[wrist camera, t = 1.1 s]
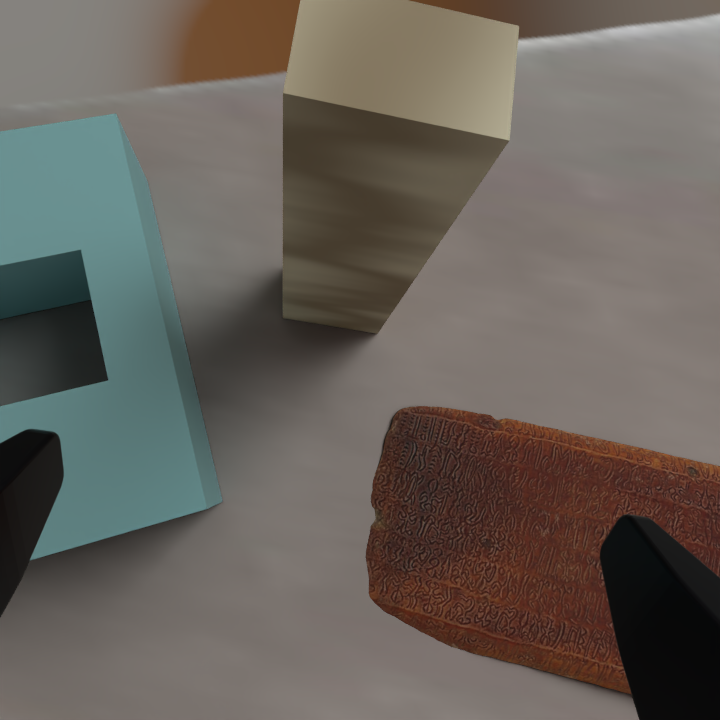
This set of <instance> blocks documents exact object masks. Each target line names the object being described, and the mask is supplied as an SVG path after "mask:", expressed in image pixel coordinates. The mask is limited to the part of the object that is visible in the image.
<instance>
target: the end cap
mask: <svg viewBox="0 0 720 720" xmlns="http://www.w3.org/2000/svg"><path fill="white" fill-rule="evenodd" d="M88 300H92V305H93V310H94V314H95V319H96V324H97V329H98V333H99V338H100V343H101V348H102V352H103V357H104V362H105V367H106V372H107V376H108V381H103V382H99V383H95V384H91V385H87V386H83V387H78V388H74V389H70V390H66V391H62V392H58V393H53V394H49V395H45V396H41V397H37V398H33V399H29V400H24V401H20V402H16V403H12V404H8V405H4V406H0V443H1V442H3V441H5V440H7V439H9V438H11V437H12V436H14V435H16V434H18V433H20V432H22V431H24V430H27V429H38V430H45V431H52V432H55V433H57V434H58V436H59V438H60V442H61V450H62V459H63V467H64V478H63V483H62V486H61V489H60V491H59V494H58V496H57V498H56V501H55V503H54V505H53V508H52V510H51V512H50V515H49V517H48V519H47V522H46V524H45V526H44V529H43V531H42V533H41V535H40V538H39V540H38V542H37V545H36V547H35V549H34V552H33V554H32V556H31V559H30V560H33V559H36V558H40V557H43V556H47V555H50V554H54V553H57V552H61V551H64V550H67V549H71V548H74V547H78V546H81V545H85V544H88V543H92V542H95V541H99V540H102V539H105V538H109V537H112V536H116V535H119V534H123V533H126V532H130V531H133V530H136V529H140V528H143V527H147V526H150V525H154V524H157V523H161V522H164V521H167V520H171V519H174V518H178V517H181V516H185V515H188V514H192V513H195V512H198V511H202V510H205V509H208V508H210V507H212V506H214V505H217V504H219V503H221V502H223V501H222V496H221V492H220V488H219V484H218V479H217V475H216V471H215V467H214V462H213V458H212V454H211V450H210V445H209V441H208V437H207V433H206V428H205V424H204V420H203V416H202V411H201V407H200V403H199V399H198V394H197V390H196V386H195V382H194V377H193V373H192V369H191V365H190V360H189V356H188V352H187V348H186V343H185V339H184V335H183V331H182V326H181V322H180V318H179V314H178V309H177V305H176V301H175V297H174V292H173V288H172V284H171V280H170V275H169V271H168V267H167V263H166V258H165V254H164V250H163V246H162V241H161V237H160V233H159V229H158V224H157V220H156V216H155V212H154V207H153V203H152V199H151V195H150V190H149V186H148V182H147V179H146V177H145V175H144V173H143V171H142V168H141V166H140V164H139V162H138V160H137V158H136V155H135V153H134V151H133V149H132V147H131V145H130V143H129V140H128V138H127V136H126V134H125V132H124V130H123V127H122V125H121V123H120V121H119V119H118V117H117V114H110V115H104V116H97V117H91V118H85V119H78V120H72V121H65V122H59V123H53V124H46V125H40V126H33V127H27V128H21V129H14V130H8V131H1V132H0V319H4V318H8V317H13V316H18V315H22V314H27V313H32V312H36V311H41V310H46V309H50V308H55V307H60V306H64V305H69V304H74V303H78V302H83V301H88Z"/></svg>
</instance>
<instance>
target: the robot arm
mask: <svg viewBox="0 0 720 720" xmlns="http://www.w3.org/2000/svg"><path fill="white" fill-rule="evenodd" d="M63 478H64V467H63V459H62V450H61V442H60V438H59V436H58V434H57V433H55V432H52V431H45V430H38V429H27V430H24V431H22V432H20V433H18V434H16V435H14V436H12V437H11V438H9V439H7V440H5V441H3V442H1V443H0V617H1V615H2V613H3V612H4V610H5V608H6V606H7V605H8V603H9V601H10V599H11V598H12V596H13V594H14V592H15V590H16V588H17V586H18V585H19V583H20V581H21V579H22V577H23V574H24V572H25V570H26V568H27V566H28V563H29V561H30V559H31V556H32V554H33V552H34V549H35V547H36V545H37V542H38V540H39V538H40V535H41V533H42V531H43V529H44V526H45V524H46V522H47V519H48V517H49V515H50V512H51V510H52V508H53V505H54V503H55V501H56V498H57V496H58V494H59V491H60V489H61V486H62V483H63ZM600 563H601V568H602V573H603V578H604V583H605V588H606V593H607V598H608V603H609V608H610V613H611V618H612V623H613V628H614V633H615V637H616V642H617V646H618V650H619V654H620V657H621V661H622V664H623V668H624V671H625V674H626V678H627V681H628V684H629V687H630V691H631V694H632V697H633V701H634V704H635V707H636V710H637V714H638V717H639V720H720V577H719V576H717V575H716V574H715V573H714V572H713V571H712V570H710V569H709V568H708V567H707V566H706V565H705V564H703V563H702V562H701V561H700V560H699V559H697V558H696V557H695V556H694V555H693V554H692V553H690V552H689V551H688V550H687V549H686V548H685V547H683V546H682V545H681V544H680V543H679V542H678V541H676V540H675V539H674V538H673V537H672V536H670V535H669V534H668V533H667V532H666V531H665V530H663V529H662V528H661V527H660V526H659V525H658V524H656V523H655V522H654V521H653V520H652V519H650V518H648V517H645V516H638V515H631V514H624V515H623V516H621V517H620V518H619V519H618V520H617V522H616V523H615V525H614V526H613V528H612V530H611V531H610V533H609V534H608V536H607V537H606V539H605V541H604V542H603V544H602V546H601V549H600Z"/></svg>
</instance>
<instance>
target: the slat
mask: <svg viewBox="0 0 720 720" xmlns="http://www.w3.org/2000/svg"><path fill="white" fill-rule="evenodd" d="M518 33H519V26H516V25H512V24H507V23H503V22H499V21H495V20H490V19H486V18H482V17H477V16H473V15H469V14H465V13H460V12H456V11H452V10H447V9H443V8H439V7H435V6H430V5H426V4H421V3H417V2H413V1H409V0H301V1H300V6H299V12H298V17H297V22H296V27H295V32H294V38H293V43H292V49H291V54H290V59H289V65H288V69H287V75H286V80H285V85H284V91H283V318H286V319H292V320H298V321H304V322H310V323H316V324H322V325H328V326H334V327H340V328H346V329H352V330H358V331H364V332H370V333H376V334H378V332H379V331H380V329H381V328H382V326H383V325H384V323H385V322H386V320H387V319H388V318H389V316H390V315H391V313H392V312H393V310H394V309H395V307H396V306H397V304H398V303H399V301H400V300H401V299H402V297H403V296H404V294H405V293H406V291H407V290H408V288H409V287H410V285H411V284H412V282H413V281H414V279H415V278H416V277H417V275H418V274H419V272H420V271H421V269H422V268H423V266H424V265H425V263H426V262H427V260H428V259H429V257H430V256H431V255H432V253H433V252H434V250H435V249H436V247H437V246H438V244H439V243H440V241H441V240H442V238H443V237H444V235H445V234H446V233H447V231H448V230H449V228H450V227H451V225H452V224H453V222H454V221H455V219H456V218H457V216H458V215H459V214H460V212H461V211H462V209H463V208H464V206H465V205H466V203H467V202H468V200H469V199H470V197H471V196H472V194H473V193H474V192H475V190H476V189H477V187H478V186H479V184H480V183H481V181H482V180H483V178H484V177H485V175H486V174H487V172H488V171H489V170H490V168H491V167H492V165H493V164H494V162H495V161H496V159H497V158H498V156H499V155H500V153H501V152H502V151H503V149H504V148H505V146H506V145H507V143H508V142H509V139H510V127H511V116H512V104H513V92H514V81H515V69H516V57H517V45H518Z"/></svg>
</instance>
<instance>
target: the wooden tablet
mask: <svg viewBox="0 0 720 720" xmlns="http://www.w3.org/2000/svg"><path fill="white" fill-rule="evenodd" d="M371 503H372V507H373V508H374V509H375V516H376V519H375V521H374V523H373V524H372V526H371V529H370V535H369V539H368V544H367V549H366V562H367V568H368V574H369V595H370V598H371V599H372V600H373V601H374V603H375V604H377V605H378V606H379V607H380V608H381V609H382V610H383V611H385V612H386V613H388V614H390V615H392V616H395V617H396V618H398V619H399V620H401V621H403V622H404V623H406V624H408V625H410V626H412V627H414V628H416V629H417V630H419V631H420V632H423V633H425V634H427V635H429V636H431V637H433V638H435V639H436V640H438V641H440V642H443V643H445V644H447V645H449V646H451V647H454V648H458V649H462V650H465V651H468V652H470V653H474V654H478V655H482V656H488V657H492V658H496V659H500V660H503V661H508V662H512V663H516V664H521V665H525V666H529V667H532V668H535V669H539V670H543V671H547V672H550V673H554V674H558V675H561V676H565V677H568V678H573V679H577V680H580V681H583V682H588V683H593V684H596V685H599V686H602V687H605V688H611V689H615V690H617V691H620V692H624V693H628V694H631V691H630V687H629V684H628V681H627V678H626V674H625V671H624V668H623V664H622V661H621V657H620V654H619V650H618V646H617V642H616V637H615V633H614V628H613V623H612V618H611V613H610V608H609V603H608V598H607V593H606V588H605V583H604V578H603V573H602V568H601V563H600V549H601V546H602V544H603V542H604V541H605V539H606V537H607V536H608V534H609V533H610V531H611V530H612V528H613V526H614V525H615V523H616V522H617V520H618V519H619V518H620V517H621V516H623V515H624V514H631V515H638V516H645V517H648V518H650V519H652V520H653V521H654V522H655V523H656V524H658V525H659V526H660V527H661V528H662V529H663V530H665V531H666V532H667V533H668V534H669V535H670V536H672V537H673V538H674V539H675V540H676V541H678V542H679V543H680V544H681V545H682V546H683V547H685V548H686V549H687V550H688V551H689V552H690V553H692V554H693V555H694V556H695V557H696V558H697V559H699V560H700V561H701V562H702V563H703V564H705V565H706V566H707V567H708V568H709V569H710V570H712V571H713V572H714V573H715V574H716V575H717V576H719V577H720V466H716V465H712V464H707V463H702V462H697V461H693V460H689V459H685V458H680V457H675V456H671V455H668V454H664V453H659V452H655V451H651V450H647V449H643V448H638V447H633V446H629V445H624V444H619V443H615V442H611V441H606V440H602V439H598V438H593V437H587V436H583V435H578V434H574V433H569V432H565V431H561V430H558V429H552V428H547V427H541V426H537V425H534V424H529V423H524V422H520V421H517V420H512V419H501V420H496V419H494V418H493V417H492V416H491V415H486V414H477V413H473V412H468V411H462V410H456V409H450V408H442V407H427V406H418V407H408V408H403V409H401V410H399V411H398V412H397V413H396V414H395V417H394V418H393V420H392V425H391V429H390V430H389V432H388V433H387V436H386V438H385V442H384V450H383V454H382V457H381V460H380V463H379V465H378V468H377V470H376V473H375V477H374V480H373V491H372V495H371Z"/></svg>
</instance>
